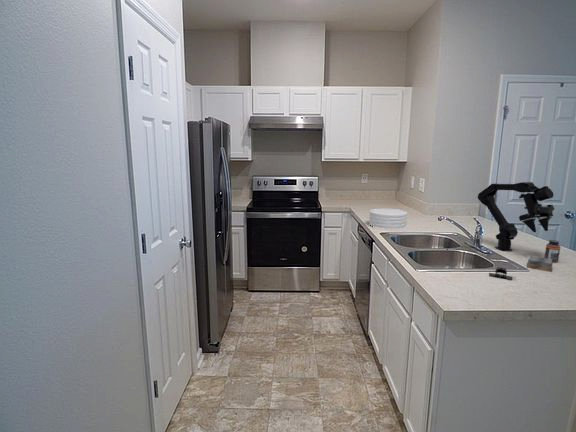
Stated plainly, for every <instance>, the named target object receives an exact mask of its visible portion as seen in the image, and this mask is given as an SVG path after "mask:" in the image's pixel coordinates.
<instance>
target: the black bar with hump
mask: <svg viewBox="0 0 576 432" xmlns="http://www.w3.org/2000/svg"><path fill="white" fill-rule="evenodd" d="M494 272H495V273H493V272H488V277H492V278H496V279H502V280H509V281H513V279H514V278H513V276H510V275H507V274H508V271H507V268H506V267H501V266H497V267H496V269H495V271H494Z"/></svg>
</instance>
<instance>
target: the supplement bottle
mask: <svg viewBox="0 0 576 432" xmlns="http://www.w3.org/2000/svg"><path fill="white" fill-rule="evenodd" d="M559 243H560V241H559V240H556V239H550V240H549V241H548V243H547V244H546V246H545V253H544V257H543V258H548V259H552V263H558V262H559V258H560V254H561V245H560V244H559Z"/></svg>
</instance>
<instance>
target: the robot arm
mask: <svg viewBox="0 0 576 432" xmlns="http://www.w3.org/2000/svg"><path fill="white" fill-rule="evenodd" d="M498 191H515V192H517V193H520V195H519V196H518V199H523V202H524V204H525V206H524V210H526V211H527V213H525V214H521V215H519V216H518V219H519V221H520V222H521V223H523V224H525V225H526V226H527V227H528V228H529V229H530V230H531V231H532V232H533V233H536V232H537V228H536V224H535V222H536V219H537V220H538V222H539V224H540V225H541V227H542V228H543V230H544V231H545V232H548V230H549V221H550V220H551V219H552V218H553V217H554V213H553V211H554V210H555V207H554V205H553V204H547V205H546V206H543V204H542V203H539V202H543V201H546V200H550V199H553V198H554V192H553V190H552V189H551V188H550V187H549V186H548V185H547V186H546V185H545V186H542V187H539V186H536V185H535V184H534V182H533V181H523V182H518V183H517V182H516V183H491V184H489V185H488V186H487V187H486V188H484V189H483V190H482V191H480V192H479V193H478V194H477V199H478V200H479V202H480V203H481V204H482V205H484V206H485V207H487V209H488V210H489V212H490V214H491V216H492V217H493V219H494V220H495V221H496V223H497V225H498V231H499V233H498V234H496V235H495V238H496V240H498V242H497V246H494V248H495V249H496V250H500V251H502V252H504V251H506V252H507V251H509V252H510V251H511V252H512V251H513V249H512V248H511V247H512V240H514V239H515V238H517V236H518V233H519V232H518V228H517V226H515V224H514V223H509V222H508V221H507V219H506V217H505V216H504V214H503V213H502V212H501V210H500V208H499V207H498V205H497V204H496V201H495V200H496V199H495V198H496V197H495V196H496V194H497V192H498Z"/></svg>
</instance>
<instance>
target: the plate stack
mask: <svg viewBox="0 0 576 432" xmlns="http://www.w3.org/2000/svg"><path fill="white" fill-rule="evenodd" d="M407 218H408V212H407V211H406V210H402V209H397V208H387V207H386V208H383V207H382V208H373V209H369V218H368V219H369V220H368V222H369V223H368V226H369V225H371V226H374V227H378V228H384V229H400V228H404V227H406V228H407V223H408V221H407ZM371 226H370V227H371ZM384 229H383V230H384Z"/></svg>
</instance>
